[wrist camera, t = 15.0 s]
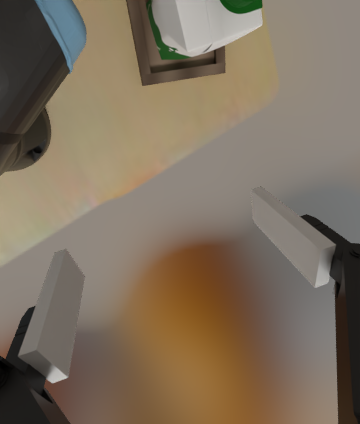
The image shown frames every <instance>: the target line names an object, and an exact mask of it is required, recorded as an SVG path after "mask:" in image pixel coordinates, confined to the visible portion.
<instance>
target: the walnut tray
mask: <svg viewBox="0 0 360 424" xmlns="http://www.w3.org/2000/svg"><path fill="white" fill-rule="evenodd" d="M126 2H127V7H128V13H129V18H130V23H131V28H132V34H133V39H134V44H135V49H136V55H137V60H138V65H139V70H140V76H141V81H142V85H143V86H146V85H152V84H158V83H164V82H171V81H177V80H183V79H190V78H196V77H202V76H208V75H215V74H221V73H225V45H224V46H222V47H220V48H217V49H215V50H212V51H210V52H207V53H204V54H200V55H197V56H194V57H190V58H187V59H178V60H162V59H161V57H160V54H159V51H158V48H157V46H156V43H155V39H154V36H153V32H152V29H151V25H150V22H149V18H148V13H147V8H146V4H147V2H148V0H126Z"/></svg>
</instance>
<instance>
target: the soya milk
mask: <svg viewBox="0 0 360 424" xmlns="http://www.w3.org/2000/svg"><path fill="white" fill-rule="evenodd" d="M146 8H147V13H148V18H149V22H150V25H151V29H152V32H153V36H154V39H155V43H156V46H157V48H158V51H159V54H160V57H161V59H162V60H178V59H187V58H190V57H194V56H197V55H200V54H204V53H207V52H210V51H212V50H215V49H217V48H220V47H222V46H224V45H226V44H228V43H231V42H233V41H235V40H237V39H239V38H240V37H242V36H244V35H246V34H248V33H250V32H251V31H253V30H255V29H257V28H258V27H260V26H262V13H261V8H262V0H148V2H147V4H146Z"/></svg>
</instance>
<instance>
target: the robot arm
mask: <svg viewBox="0 0 360 424" xmlns="http://www.w3.org/2000/svg"><path fill="white" fill-rule="evenodd" d="M86 34H87V33H86V27H85V24H84V21H83V19H82V17H81V15H80V13H79V11H78V9H77V8H76V6H75V4H74V3H73V1H72V0H0V175H2V174H3V173H4V172H7V171H17V170H21V169H24V168H27V167H29V166H31V165H32V164H34V163H35V162H37V161H38V160H39V159H40V158H41V157H42V156H43V155H44V153H45V152H46V150H47V149H48V146H49V143H50V139H51V126H50V121H49V118H48V115H47V113H46V111H45V109H44V107H45V105H46V104H47V103H48V101H49V100H50V98H51V97H52V96H53V94H54V93H55V91H56V90H57V89H58V87H59V86H60V84H61V83H62V82H63V80H64V79H65V77H66V76H67V75H68V74H70V73H71V72H72V69H73V64H74V63H75V61H76V59H77V58H78V56H79V55H80V53H81V51H82V50H83V48H84V47H85V43H86ZM251 198H252V216H253V222H254V223H255V224H256V225H257V226H258V227H259V228H260V229H261V230H262V231H263V232H264V233H265V234H266V236H267V237H268V238H269V239H270V240H271V241H272V242H273V243H274V244H275V245H276V246H277V247H278V249H279V250H280V251H281V252H282V253H283V254H284V255H285V256H286V257H287V258H288V259H289V260H290V262H291V263H292V264H293V265H294V266H295V267H296V268H297V269H298V270H299V271H300V272H301V273H302V275H304V277H305V278H306V279H307V280H308V281H309V282H310V283H311V284H312V285H313V286H314V287H315V288H316V287H319V286H321V285H324V284H327V283H328V281H329V276H331V277H332V278H333V279H334V280H335V285H334V290H333V294H335V317H336V318H335V319H336V352H337V354H336V355H337V391H338V424H360V244H355V243H350V242H349V241H347V240H346V239H345V238H343V237H342V236H340V235H339V234H338V233H336V232H335V231H333V230H332V229H331V228H329V227H328V226H327V225H325V224H323V223H322V222H321V221H320V220H318V219H317V218H314V217H312V216H309V215H307V214H306V215H303V216H298V215H297V214H296V213H295V212H293V211H292V210H291V209H289V208H288V207H287V206H286V205H284V204H283V203H282V202H280V201H279V200H278V199H277V198H275V197H274V196H273V195H272V194H270V193H269V192H268V191H266V190H265V189H264V188H262V187H258V188H254V189H252V190H251ZM84 277H85V276H84V274H83V273H82V271H81V270H80V269H79V267H78V265H77V264H76V263H75V261H74V260H73V258H72V257H71V255H70V254H69V252H68V251H67V249H64V250H61V251H58V252H55V253H54V256H53V259H52V262H51V264H50V267H49V270H48V273H47V276H46V279H45V281H44V284H43V287H42V290H41V293H40V295H39V298H38V301H37V304H36V306H34V307H31V308H29V309H28V310H27V311H26V313H25V315H24V316H23V317H22V319H21V321H20V324H19V326H18V329H17V331H16V334H15V337H14V339H13V341H12V344H11V346H10V349H9V351H8V354H7V357H6V359H4V358H3V357H1V356H0V424H70V422H69V421H68V419H67V418H66V417H65V415H64V414H63V412H62V411H61V409H60V408H59V406H58V405H57V404H56V402H55V401H54V399H53V398H52V396H51V395H50V393H49V392H48V391H47V390H46V389H45V388H44V384H45V380H46V379H48V380H49V381H50V382H51V383H55V382H57V381H60V380H63V379H65V378H68V376H69V369H70V363H71V357H72V351H73V345H74V339H75V333H76V327H77V320H78V315H79V309H80V302H81V297H82V290H83V284H84Z"/></svg>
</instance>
